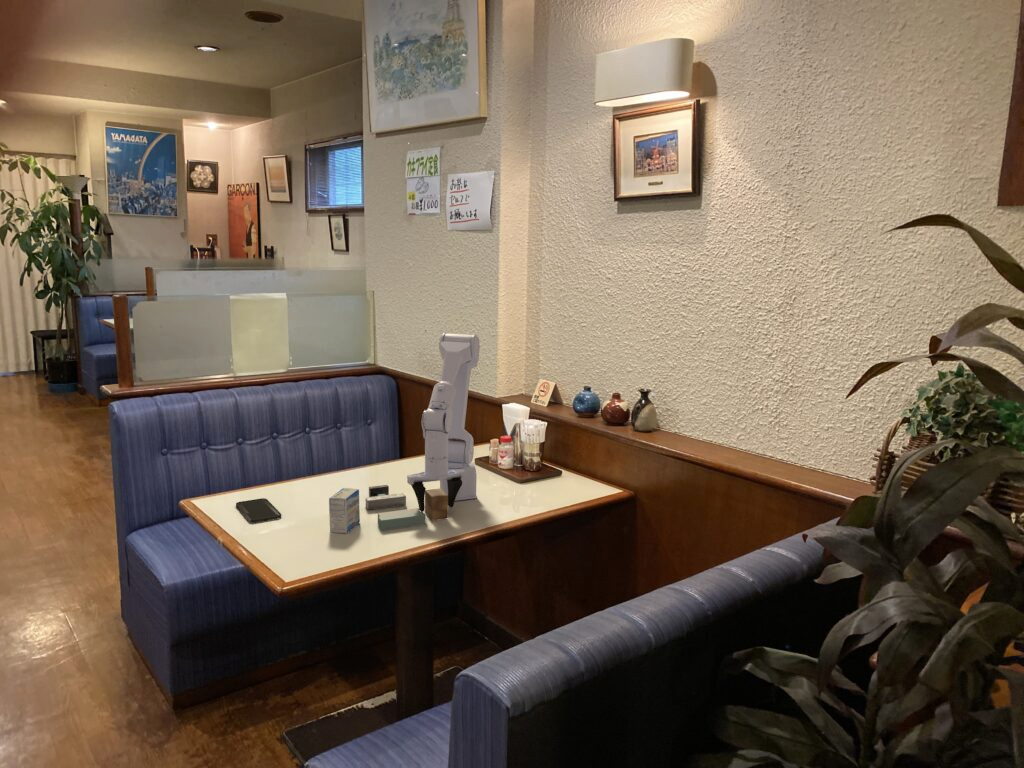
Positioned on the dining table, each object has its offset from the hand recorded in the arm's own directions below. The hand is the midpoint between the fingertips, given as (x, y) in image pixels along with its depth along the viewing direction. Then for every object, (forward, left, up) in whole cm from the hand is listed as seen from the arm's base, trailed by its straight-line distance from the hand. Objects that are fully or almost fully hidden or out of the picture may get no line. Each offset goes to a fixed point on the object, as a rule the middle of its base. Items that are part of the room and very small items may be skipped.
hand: (436, 508), depth 193 cm
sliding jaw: (+10, -14, -2) cm, 17 cm away
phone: (+41, -19, -2) cm, 45 cm away
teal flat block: (+10, +2, -2) cm, 10 cm away
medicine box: (+23, 0, -2) cm, 23 cm away
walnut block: (0, 0, -2) cm, 2 cm away
